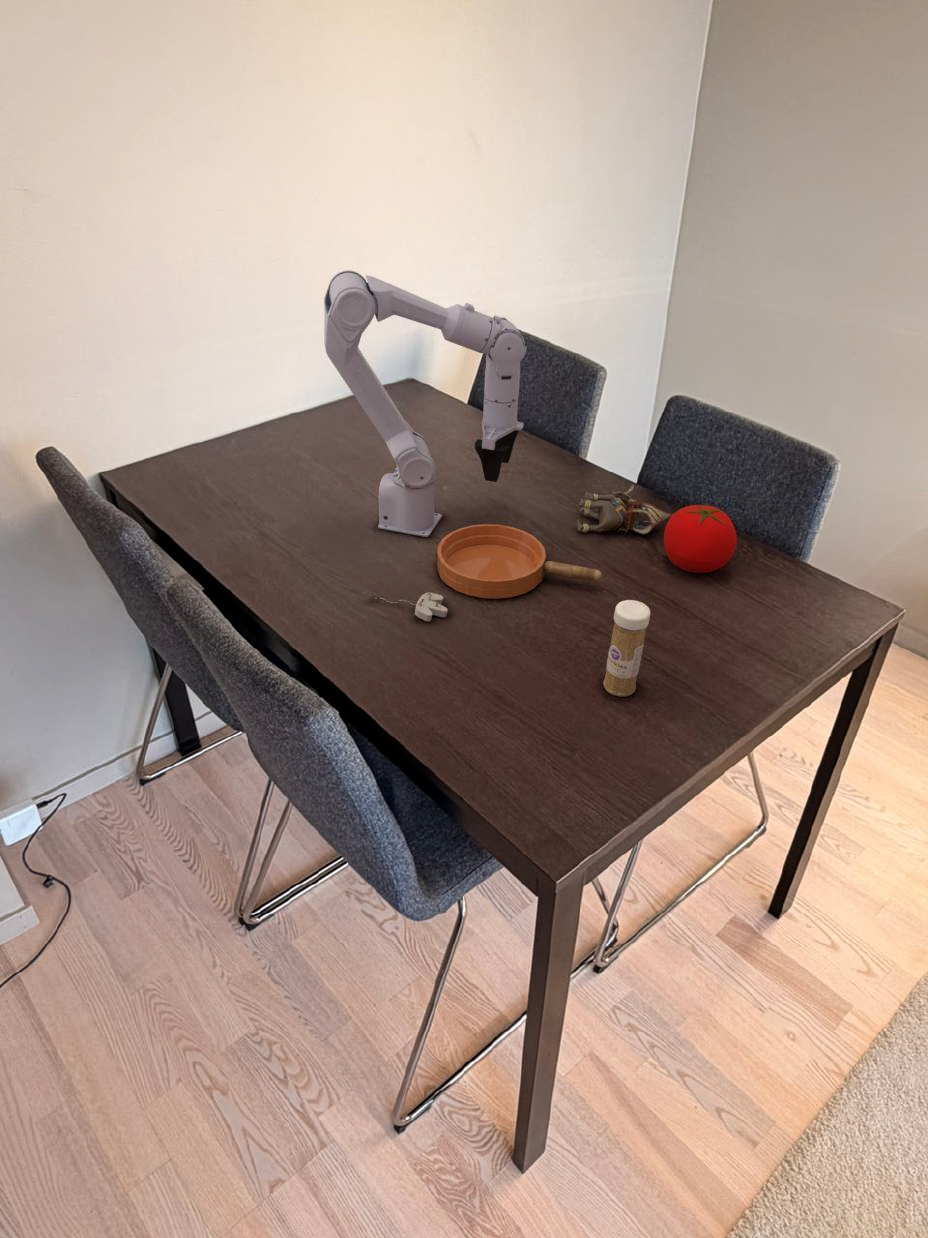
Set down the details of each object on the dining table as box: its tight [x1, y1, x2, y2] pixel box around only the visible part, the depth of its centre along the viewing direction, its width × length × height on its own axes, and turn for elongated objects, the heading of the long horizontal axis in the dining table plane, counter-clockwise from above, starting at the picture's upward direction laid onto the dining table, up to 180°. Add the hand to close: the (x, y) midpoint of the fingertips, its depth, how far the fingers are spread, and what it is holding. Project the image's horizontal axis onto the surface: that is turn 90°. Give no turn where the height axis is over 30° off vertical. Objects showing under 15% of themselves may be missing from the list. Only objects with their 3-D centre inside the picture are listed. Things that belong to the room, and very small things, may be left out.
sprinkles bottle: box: [602, 599, 651, 698], centre depth 117 cm, size 5×5×14 cm
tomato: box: [663, 503, 738, 574], centre depth 144 cm, size 11×12×10 cm
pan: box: [436, 523, 547, 600], centre depth 143 cm, size 18×18×4 cm
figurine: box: [576, 484, 675, 535], centre depth 155 cm, size 20×6×17 cm
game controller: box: [373, 591, 448, 622], centre depth 133 cm, size 6×12×3 cm, turn 89°
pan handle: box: [543, 560, 603, 583], centre depth 140 cm, size 10×2×2 cm, turn 73°
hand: (497, 470), depth 153 cm, fingers open, 7 cm apart
